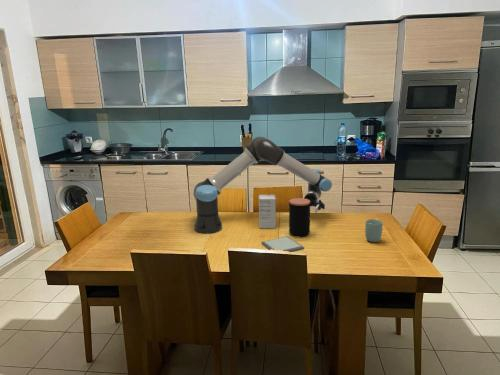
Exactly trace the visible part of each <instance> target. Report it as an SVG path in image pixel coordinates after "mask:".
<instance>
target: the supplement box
mask: <svg viewBox="0 0 500 375" xmlns="http://www.w3.org/2000/svg"><path fill="white" fill-rule="evenodd" d="M276 200H277V199H276V195H275V194H258V227H259V229H276V228H277V226H276V224H277V223H276V222H277V217H276V216H277V214H276V212H277V209H276V208H277V206H276V205H277V204H276V203H277V201H276Z"/></svg>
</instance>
